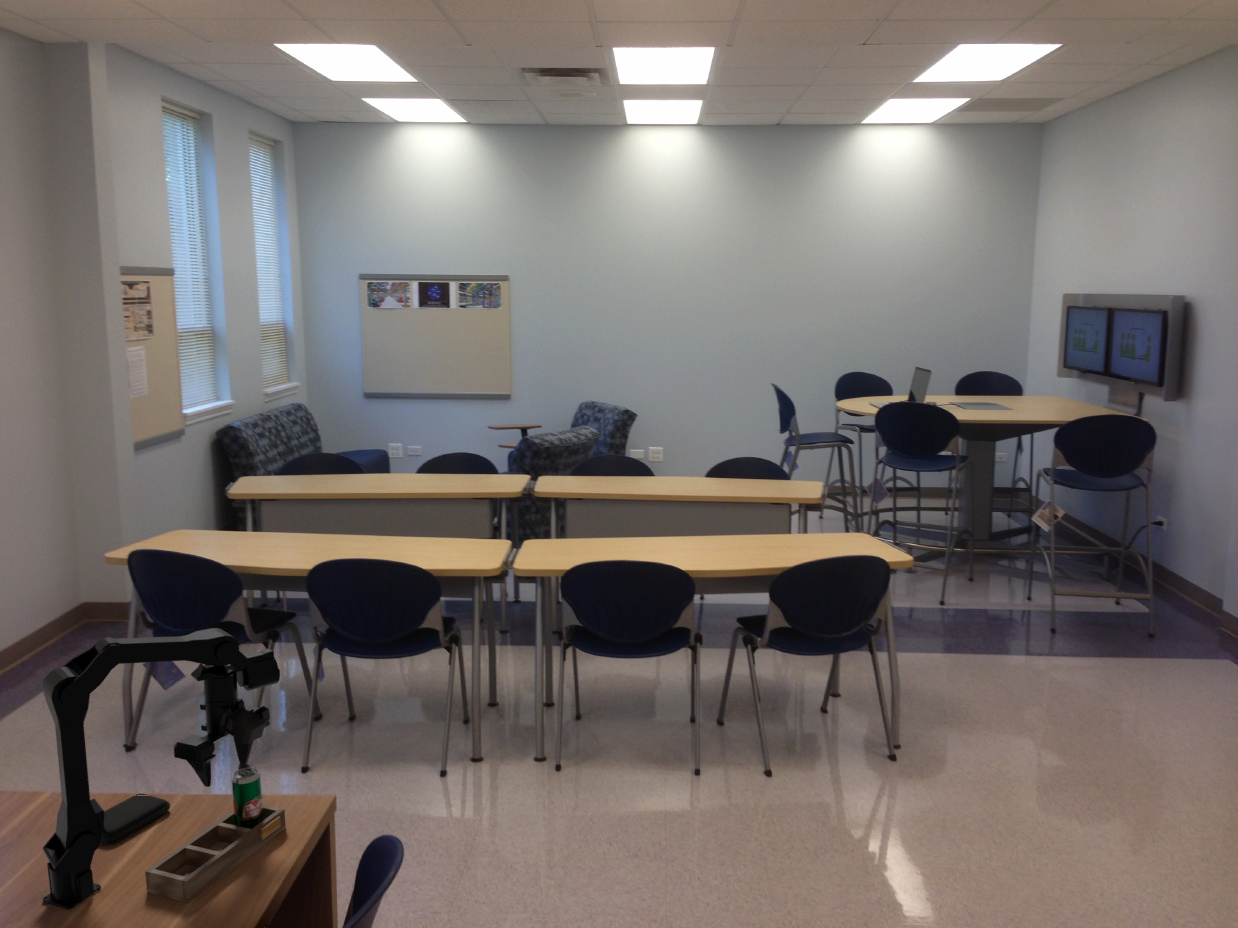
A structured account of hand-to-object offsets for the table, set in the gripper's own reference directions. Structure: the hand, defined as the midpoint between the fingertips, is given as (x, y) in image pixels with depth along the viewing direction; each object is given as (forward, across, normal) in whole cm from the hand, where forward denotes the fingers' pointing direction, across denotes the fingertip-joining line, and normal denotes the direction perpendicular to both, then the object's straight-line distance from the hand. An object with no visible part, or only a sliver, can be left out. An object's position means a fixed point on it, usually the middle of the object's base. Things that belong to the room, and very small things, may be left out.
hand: (225, 775), depth 182 cm
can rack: (+13, -6, -4) cm, 15 cm away
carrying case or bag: (+13, -3, +23) cm, 27 cm away
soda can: (+12, +2, -4) cm, 12 cm away
